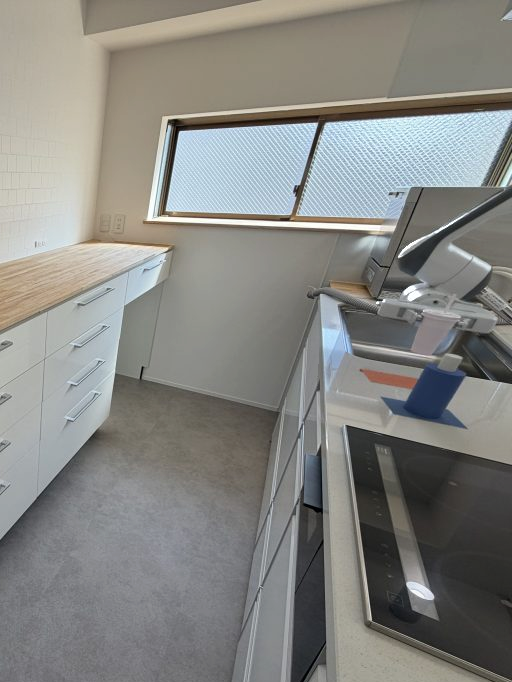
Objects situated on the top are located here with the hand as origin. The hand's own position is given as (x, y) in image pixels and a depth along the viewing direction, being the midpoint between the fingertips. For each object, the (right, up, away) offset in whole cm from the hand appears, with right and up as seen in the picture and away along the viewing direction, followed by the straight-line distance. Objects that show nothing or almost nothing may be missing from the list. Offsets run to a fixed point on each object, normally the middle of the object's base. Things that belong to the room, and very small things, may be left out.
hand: (439, 322), depth 94 cm
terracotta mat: (-1, -14, +9) cm, 17 cm away
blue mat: (-9, -20, -5) cm, 23 cm away
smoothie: (0, -7, +4) cm, 8 cm away
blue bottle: (-9, -20, -5) cm, 23 cm away
